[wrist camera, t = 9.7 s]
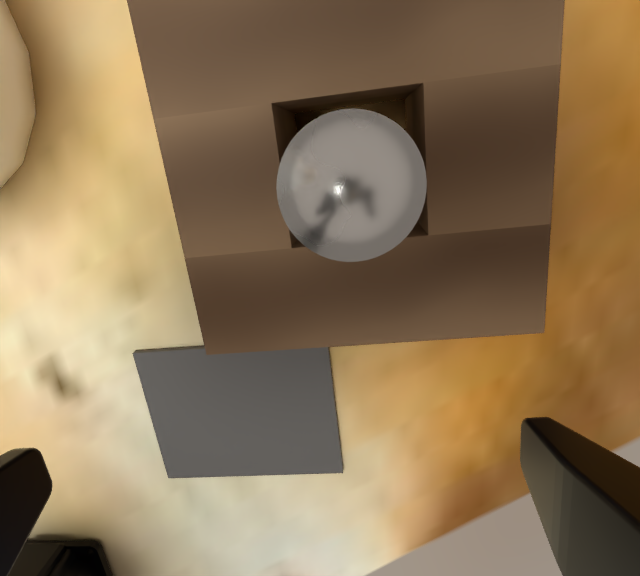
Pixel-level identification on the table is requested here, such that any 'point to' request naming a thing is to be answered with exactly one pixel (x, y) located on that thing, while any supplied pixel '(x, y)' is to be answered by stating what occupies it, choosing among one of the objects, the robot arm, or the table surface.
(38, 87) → the table surface
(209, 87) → the hole block
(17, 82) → the vase
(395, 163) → the pin
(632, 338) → the table surface
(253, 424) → the rubber mat
